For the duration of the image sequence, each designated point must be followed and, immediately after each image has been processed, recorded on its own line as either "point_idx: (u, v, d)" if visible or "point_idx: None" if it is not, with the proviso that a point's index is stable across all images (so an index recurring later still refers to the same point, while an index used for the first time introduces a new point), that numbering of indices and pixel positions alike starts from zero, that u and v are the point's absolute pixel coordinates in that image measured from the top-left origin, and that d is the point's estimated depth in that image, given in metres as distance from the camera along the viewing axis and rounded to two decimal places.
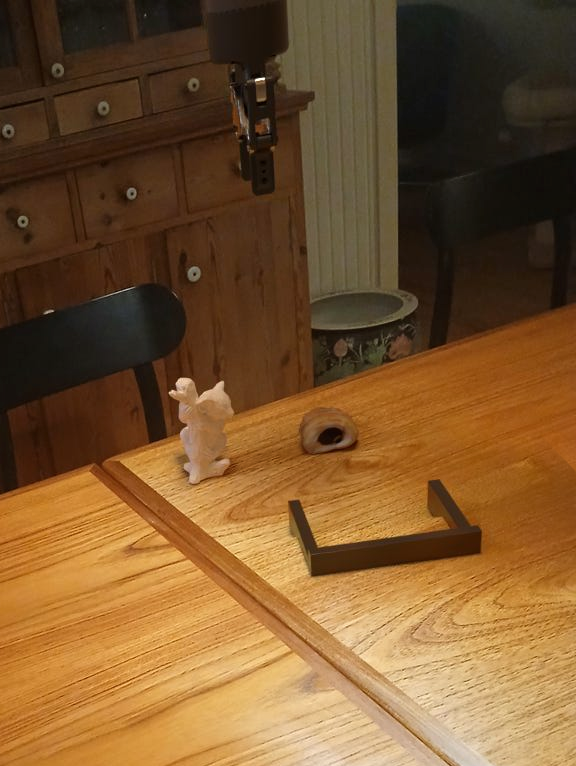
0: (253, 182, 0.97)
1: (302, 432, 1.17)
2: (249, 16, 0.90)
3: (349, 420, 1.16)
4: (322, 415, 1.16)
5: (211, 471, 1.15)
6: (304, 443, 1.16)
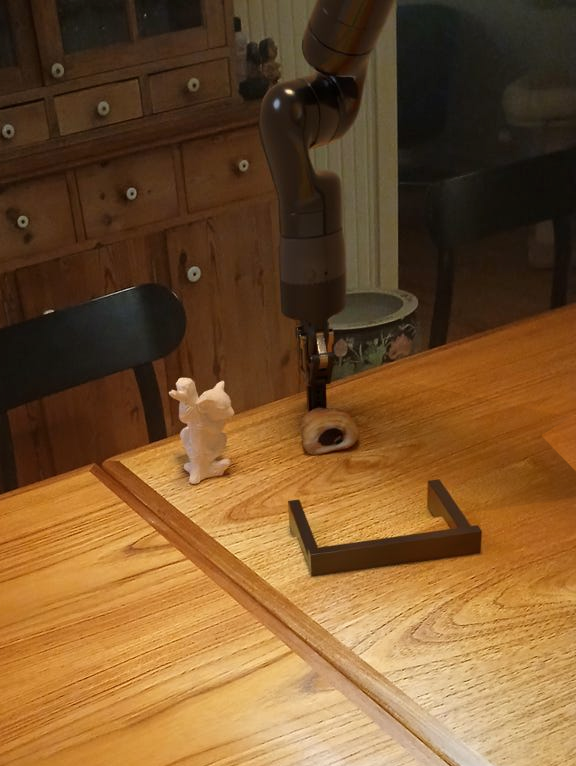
0: (309, 405, 1.23)
1: (302, 433, 1.16)
2: (316, 289, 1.12)
3: (349, 421, 1.16)
4: (322, 416, 1.16)
5: (211, 471, 1.15)
6: (304, 444, 1.16)
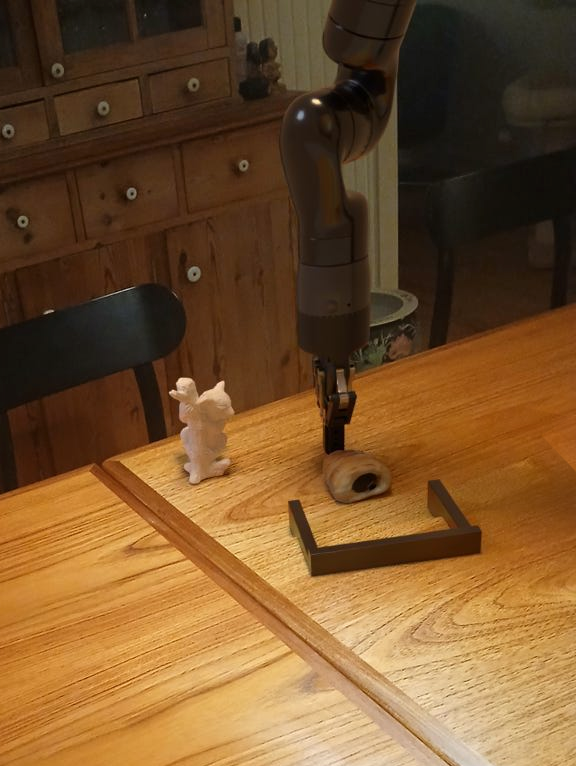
0: (326, 445, 1.12)
1: (332, 480, 1.05)
2: (337, 322, 1.00)
3: (381, 463, 1.05)
4: (351, 460, 1.05)
5: (211, 471, 1.15)
6: (336, 492, 1.05)
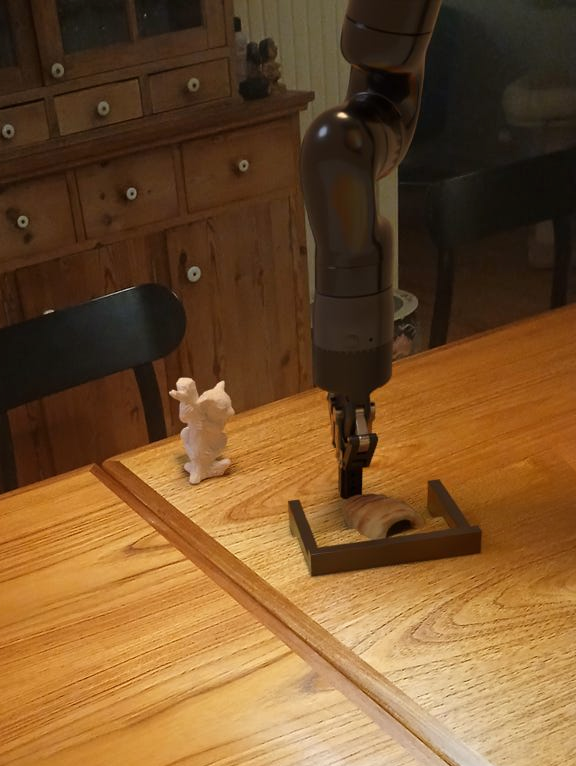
0: (342, 488, 1.02)
1: (362, 530, 0.96)
2: (358, 358, 0.91)
3: (411, 508, 0.97)
4: (380, 506, 0.96)
5: (211, 471, 1.15)
6: None
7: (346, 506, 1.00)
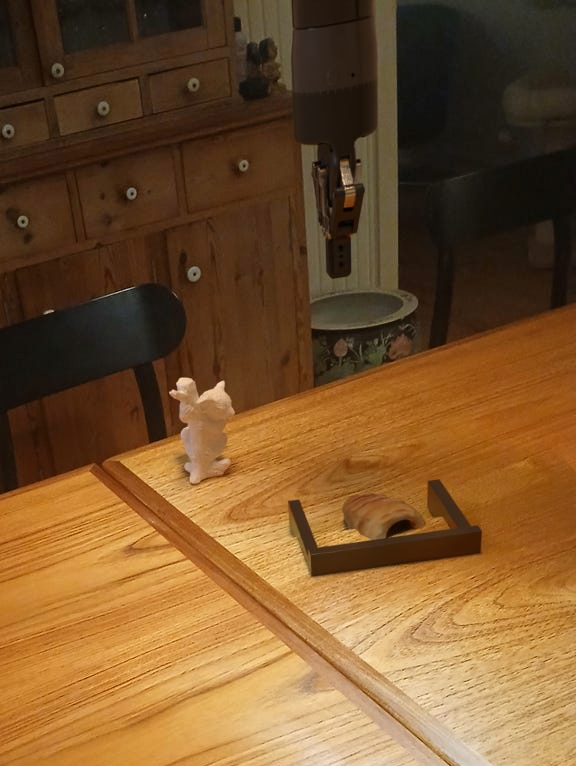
0: (330, 266, 0.97)
1: (362, 530, 0.96)
2: (340, 98, 0.86)
3: (411, 508, 0.96)
4: (380, 506, 0.96)
5: (212, 471, 1.15)
6: None
7: (346, 506, 1.00)
